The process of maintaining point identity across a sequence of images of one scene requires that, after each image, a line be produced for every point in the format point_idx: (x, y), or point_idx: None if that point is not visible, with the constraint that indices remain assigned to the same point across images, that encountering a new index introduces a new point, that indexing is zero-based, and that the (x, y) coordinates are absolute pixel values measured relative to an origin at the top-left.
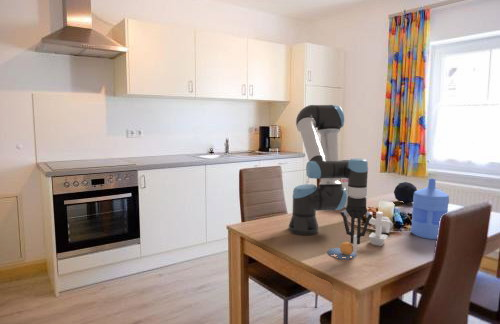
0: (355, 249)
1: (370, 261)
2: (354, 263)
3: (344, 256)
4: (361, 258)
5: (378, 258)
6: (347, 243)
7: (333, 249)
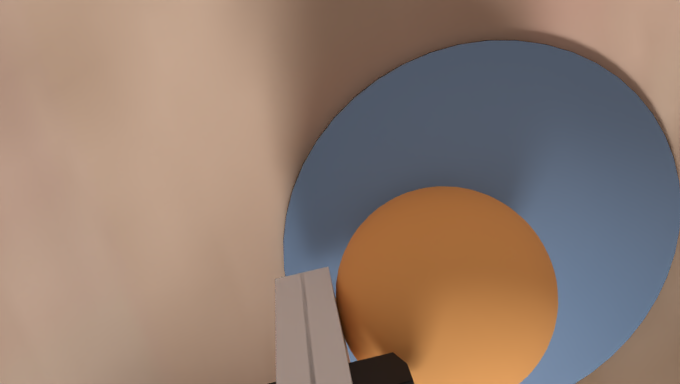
0: (293, 298)
1: (52, 217)
2: (220, 7)
3: (422, 159)
4: (198, 245)
5: (6, 373)
6: (454, 319)
7: (618, 304)
